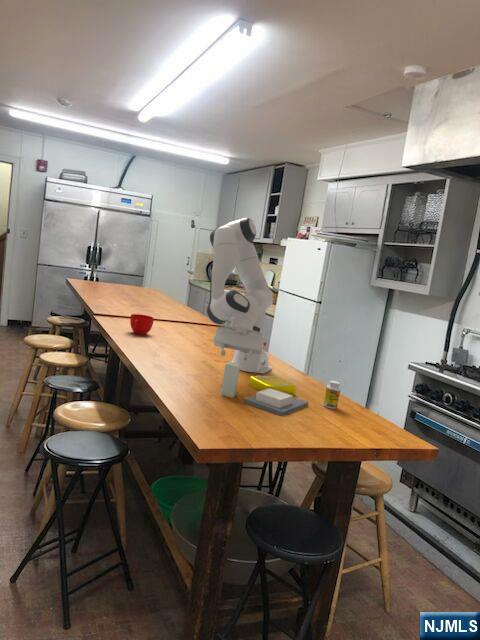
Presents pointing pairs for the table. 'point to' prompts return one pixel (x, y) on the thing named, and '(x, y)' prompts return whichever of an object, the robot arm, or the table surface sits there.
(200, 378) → the table surface
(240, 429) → the table surface
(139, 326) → the ceramic cup
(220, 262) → the robot arm
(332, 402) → the supplement bottle
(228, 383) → the sage block
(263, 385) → the element tile
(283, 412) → the slate board
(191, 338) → the table surface
